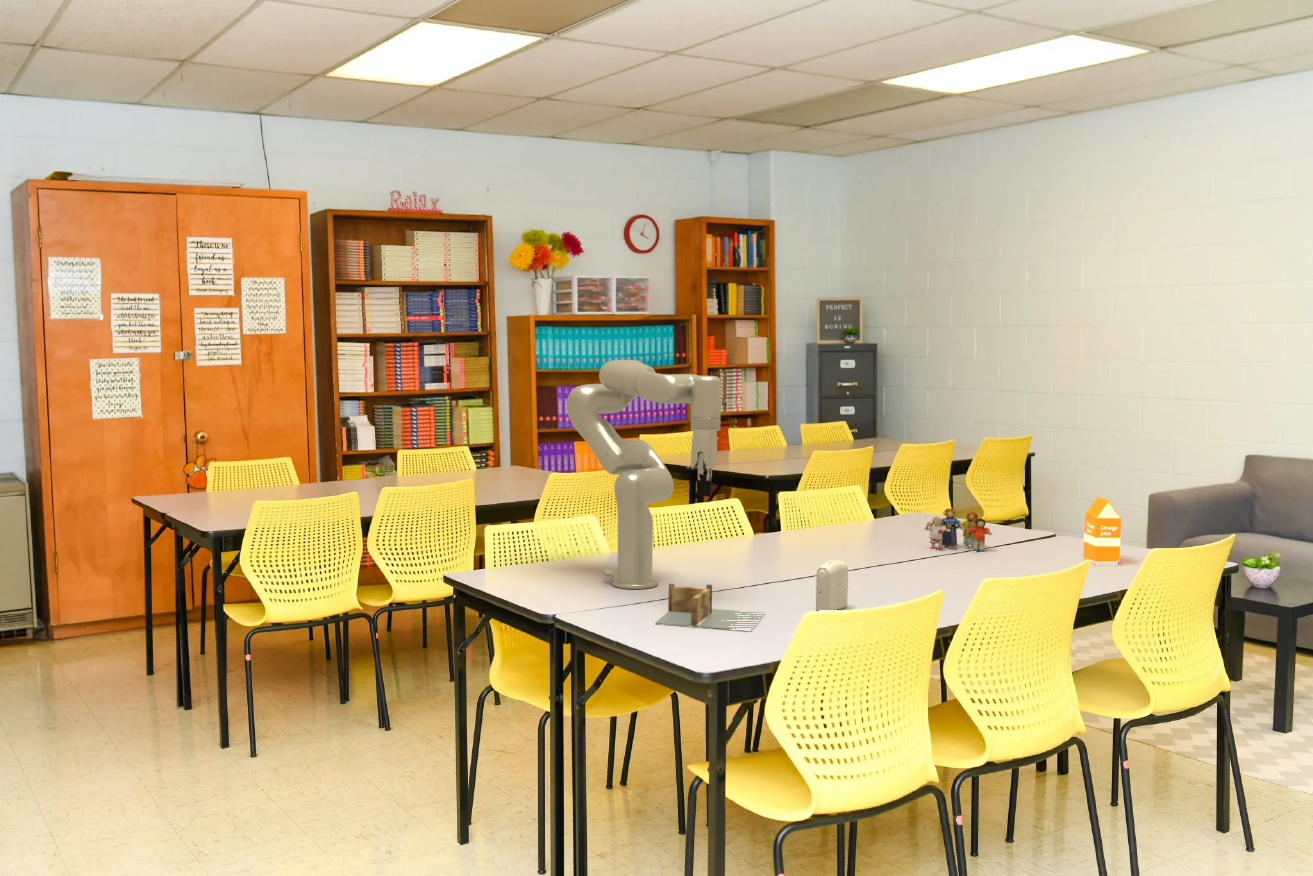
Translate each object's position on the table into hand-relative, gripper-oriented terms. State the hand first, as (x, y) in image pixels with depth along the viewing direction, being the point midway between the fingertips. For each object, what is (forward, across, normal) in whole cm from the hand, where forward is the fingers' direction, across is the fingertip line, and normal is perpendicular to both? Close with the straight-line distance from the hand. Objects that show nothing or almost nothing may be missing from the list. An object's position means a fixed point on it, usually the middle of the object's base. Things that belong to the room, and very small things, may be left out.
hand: (704, 495), depth 288 cm
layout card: (+27, +19, +6) cm, 34 cm away
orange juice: (+27, -88, +105) cm, 140 cm away
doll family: (+27, -98, +62) cm, 119 cm away
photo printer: (+27, 0, +33) cm, 43 cm away
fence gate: (+26, +22, +5) cm, 35 cm away
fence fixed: (+27, +15, 0) cm, 31 cm away
